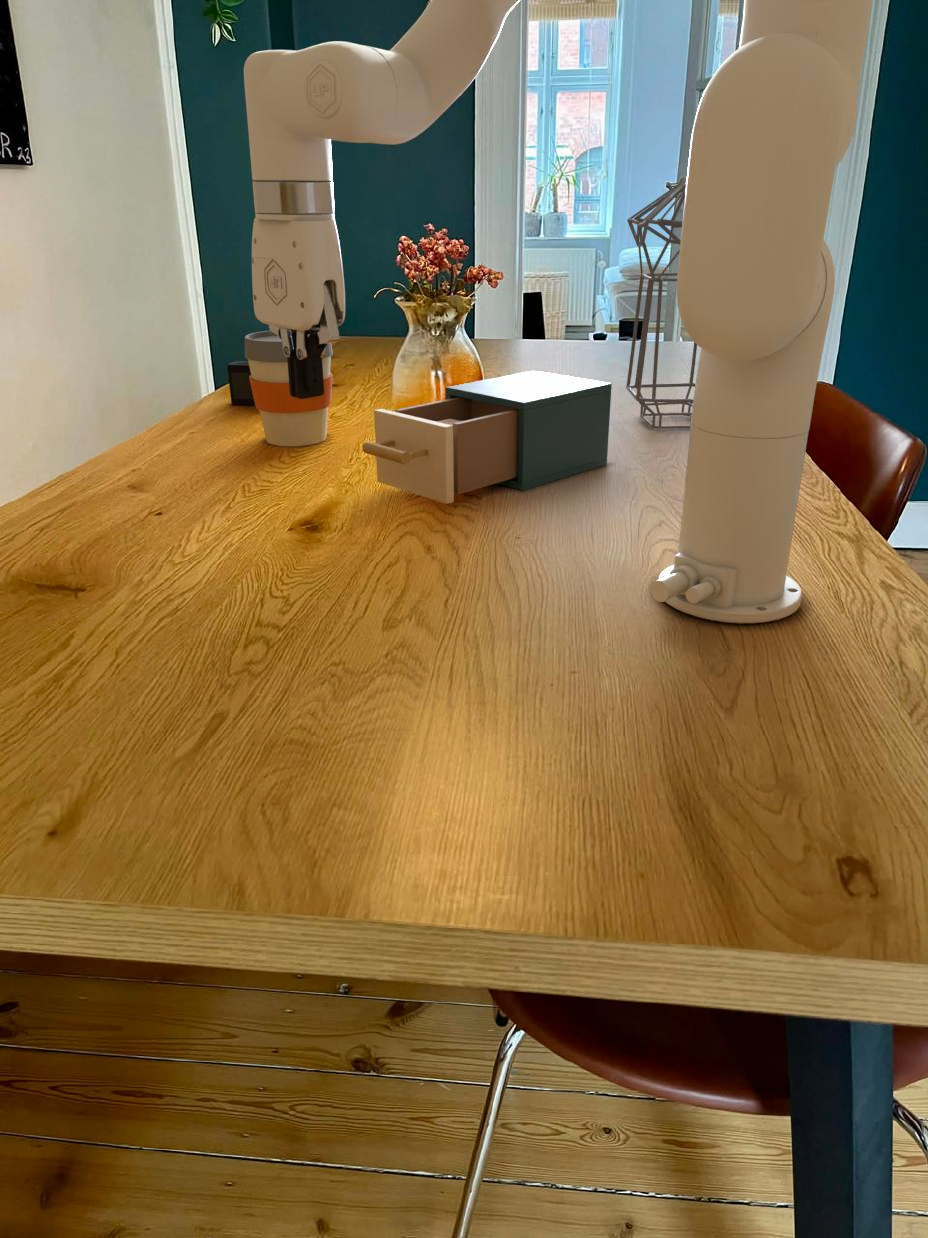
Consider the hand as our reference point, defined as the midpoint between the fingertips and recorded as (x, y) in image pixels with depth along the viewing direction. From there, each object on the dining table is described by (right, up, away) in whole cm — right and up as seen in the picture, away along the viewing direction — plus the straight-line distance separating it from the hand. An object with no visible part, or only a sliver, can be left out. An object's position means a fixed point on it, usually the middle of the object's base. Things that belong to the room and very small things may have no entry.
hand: (307, 395), depth 95 cm
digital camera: (-19, +14, +65) cm, 69 cm away
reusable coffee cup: (-9, +4, +42) cm, 43 cm away
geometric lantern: (+49, +8, +50) cm, 71 cm away
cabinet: (+25, -3, +27) cm, 37 cm away
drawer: (+14, -6, +17) cm, 23 cm away
